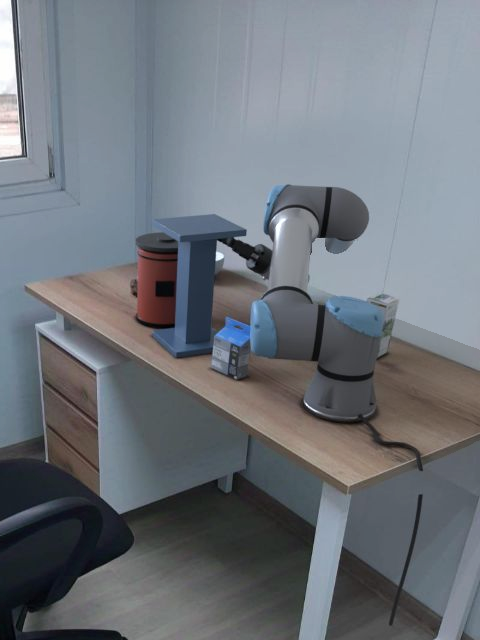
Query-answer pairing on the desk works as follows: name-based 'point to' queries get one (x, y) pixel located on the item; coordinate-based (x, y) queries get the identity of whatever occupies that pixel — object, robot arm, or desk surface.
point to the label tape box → (232, 349)
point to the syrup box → (385, 318)
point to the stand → (194, 281)
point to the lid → (157, 242)
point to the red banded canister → (157, 288)
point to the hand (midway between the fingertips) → (201, 225)
